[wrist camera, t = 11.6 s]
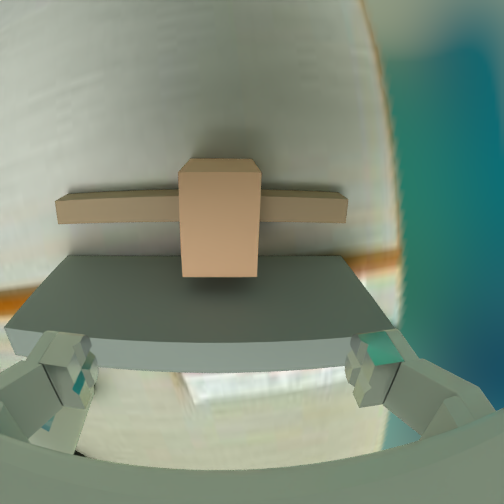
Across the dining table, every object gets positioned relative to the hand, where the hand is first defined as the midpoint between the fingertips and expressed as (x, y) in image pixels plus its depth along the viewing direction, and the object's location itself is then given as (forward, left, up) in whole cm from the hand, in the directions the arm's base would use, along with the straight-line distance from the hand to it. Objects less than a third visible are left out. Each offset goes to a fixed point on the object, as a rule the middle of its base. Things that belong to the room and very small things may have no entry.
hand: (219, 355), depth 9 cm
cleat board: (+3, -2, -19) cm, 19 cm away
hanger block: (0, 0, -19) cm, 19 cm away
